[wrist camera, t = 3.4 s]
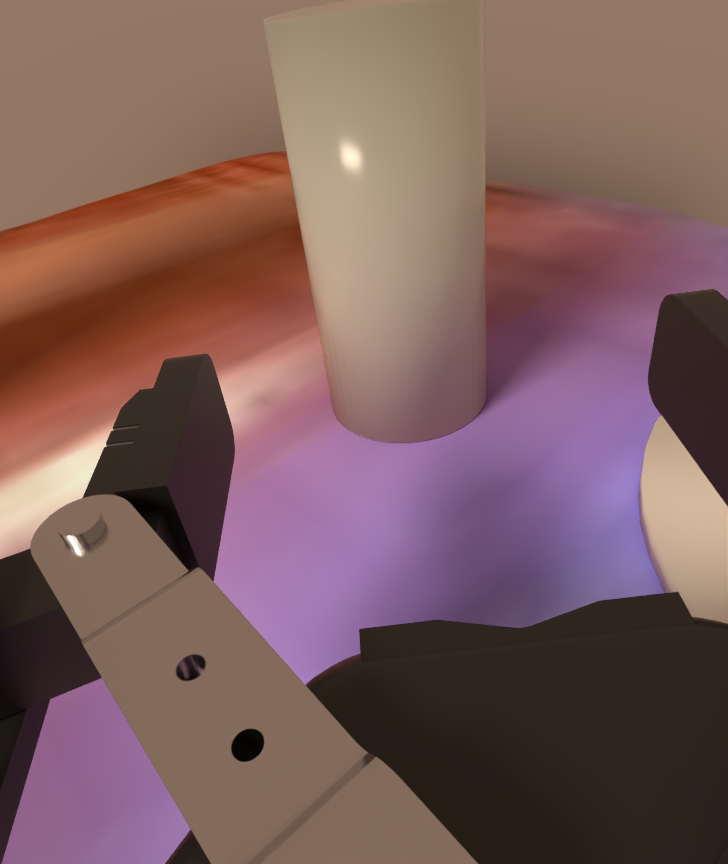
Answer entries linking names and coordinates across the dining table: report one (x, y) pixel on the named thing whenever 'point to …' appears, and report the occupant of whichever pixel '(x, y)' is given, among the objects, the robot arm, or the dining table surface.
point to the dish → (684, 525)
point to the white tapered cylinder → (391, 204)
